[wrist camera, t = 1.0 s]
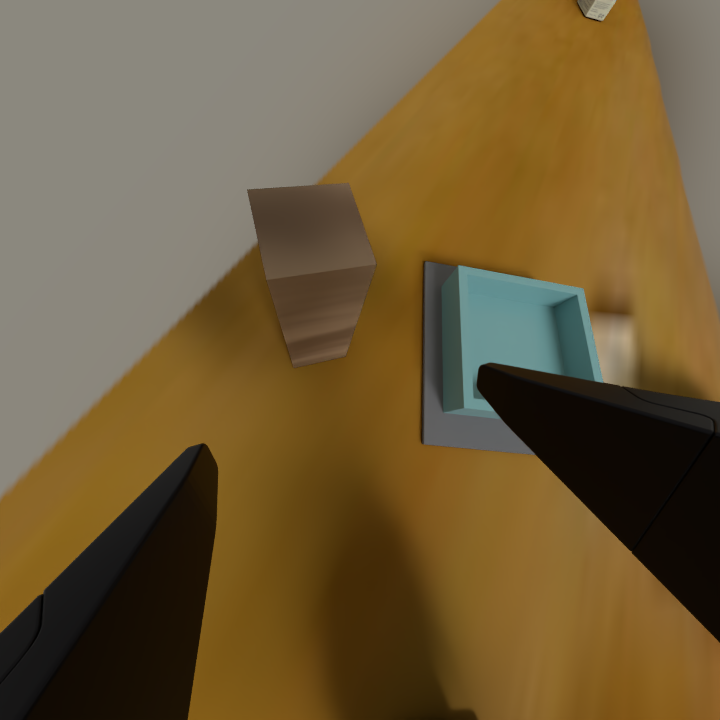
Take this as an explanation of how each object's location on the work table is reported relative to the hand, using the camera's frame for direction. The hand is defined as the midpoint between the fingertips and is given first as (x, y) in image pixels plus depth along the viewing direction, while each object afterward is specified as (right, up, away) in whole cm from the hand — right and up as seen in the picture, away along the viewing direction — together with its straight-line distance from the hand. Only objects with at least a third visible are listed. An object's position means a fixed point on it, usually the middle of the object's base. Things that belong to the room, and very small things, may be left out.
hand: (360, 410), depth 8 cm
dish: (+14, +2, +17) cm, 22 cm away
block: (-4, +3, +14) cm, 15 cm away
